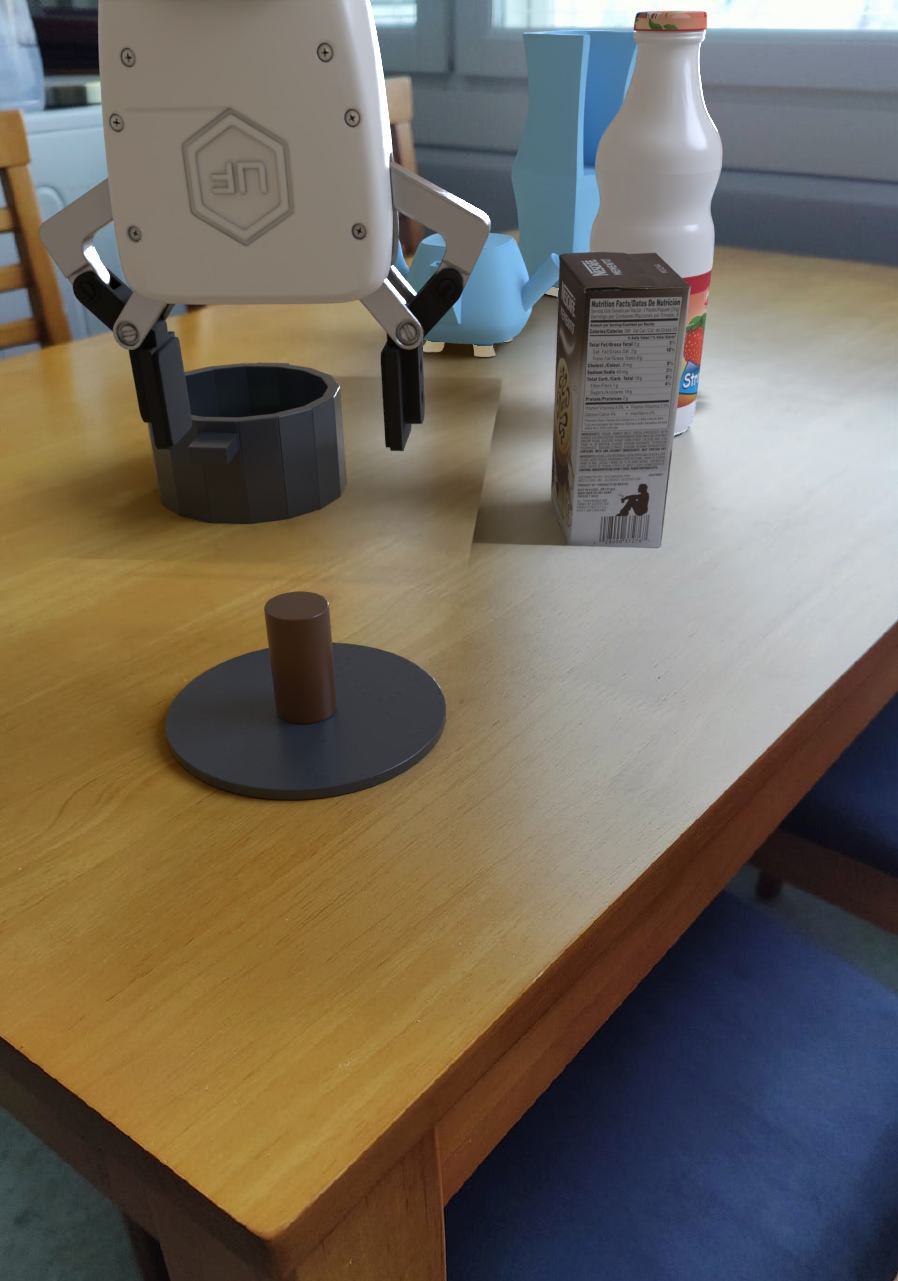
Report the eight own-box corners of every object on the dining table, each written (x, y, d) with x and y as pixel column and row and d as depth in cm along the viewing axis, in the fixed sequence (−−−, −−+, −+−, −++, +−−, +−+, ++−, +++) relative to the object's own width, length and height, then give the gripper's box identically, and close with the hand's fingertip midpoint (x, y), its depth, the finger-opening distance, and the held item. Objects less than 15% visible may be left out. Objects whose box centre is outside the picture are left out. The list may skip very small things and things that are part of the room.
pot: (127, 566, 72) (101, 433, 67) (202, 466, 86) (186, 351, 81) (321, 572, 71) (310, 437, 66) (365, 470, 85) (359, 353, 80)
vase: (570, 300, 128) (583, 35, 114) (509, 286, 134) (514, 33, 119) (627, 286, 134) (646, 31, 119) (565, 274, 140) (577, 29, 125)
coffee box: (546, 499, 80) (556, 251, 71) (636, 496, 81) (658, 249, 71) (566, 553, 73) (580, 284, 63) (665, 549, 73) (694, 281, 64)
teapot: (420, 372, 106) (416, 240, 99) (373, 337, 116) (368, 215, 110) (566, 355, 110) (573, 227, 104) (509, 323, 121) (512, 204, 114)
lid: (131, 803, 51) (102, 673, 47) (210, 656, 62) (192, 540, 58) (431, 818, 50) (427, 686, 46) (457, 665, 61) (456, 548, 57)
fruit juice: (567, 409, 97) (587, 11, 80) (674, 403, 98) (716, 8, 81) (593, 446, 89) (621, 15, 73) (708, 439, 90) (762, 12, 74)
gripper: (-69, -66, 35) (55, 469, 45) (481, -86, 34) (484, 473, 44) (25, -59, 41) (117, 412, 51) (496, -76, 40) (496, 413, 50)
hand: (286, 440), depth 48 cm, fingers open, 9 cm apart
